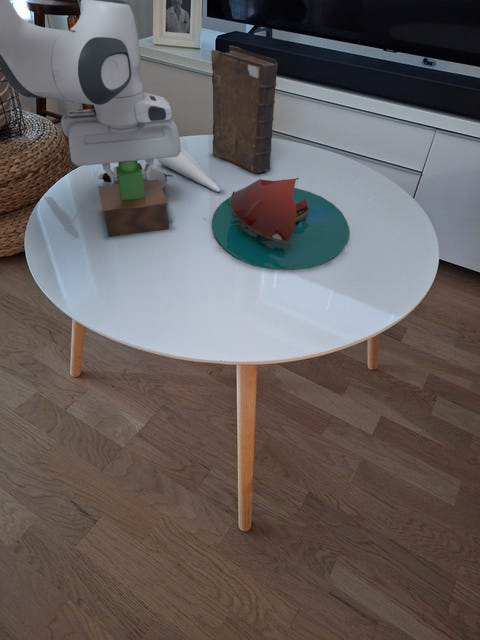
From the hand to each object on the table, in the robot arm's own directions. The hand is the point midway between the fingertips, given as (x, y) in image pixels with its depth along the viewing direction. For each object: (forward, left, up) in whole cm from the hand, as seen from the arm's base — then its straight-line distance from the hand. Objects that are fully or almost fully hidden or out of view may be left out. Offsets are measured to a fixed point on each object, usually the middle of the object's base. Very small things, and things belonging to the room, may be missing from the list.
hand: (130, 181), depth 91 cm
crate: (0, 0, -9) cm, 9 cm away
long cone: (+15, +16, -9) cm, 24 cm away
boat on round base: (+28, -11, -9) cm, 31 cm away
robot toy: (+2, +14, -9) cm, 17 cm away
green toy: (0, 0, -3) cm, 3 cm away
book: (+30, +22, -9) cm, 38 cm away
